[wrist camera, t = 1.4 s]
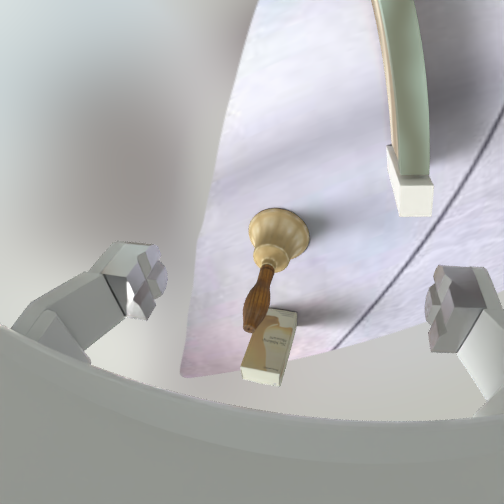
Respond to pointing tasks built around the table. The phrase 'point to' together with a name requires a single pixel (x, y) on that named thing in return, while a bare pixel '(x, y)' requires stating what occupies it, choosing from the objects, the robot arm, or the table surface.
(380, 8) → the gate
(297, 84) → the table surface
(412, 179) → the gate posts
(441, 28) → the table surface
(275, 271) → the hand bell
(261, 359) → the skincare box
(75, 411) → the robot arm
